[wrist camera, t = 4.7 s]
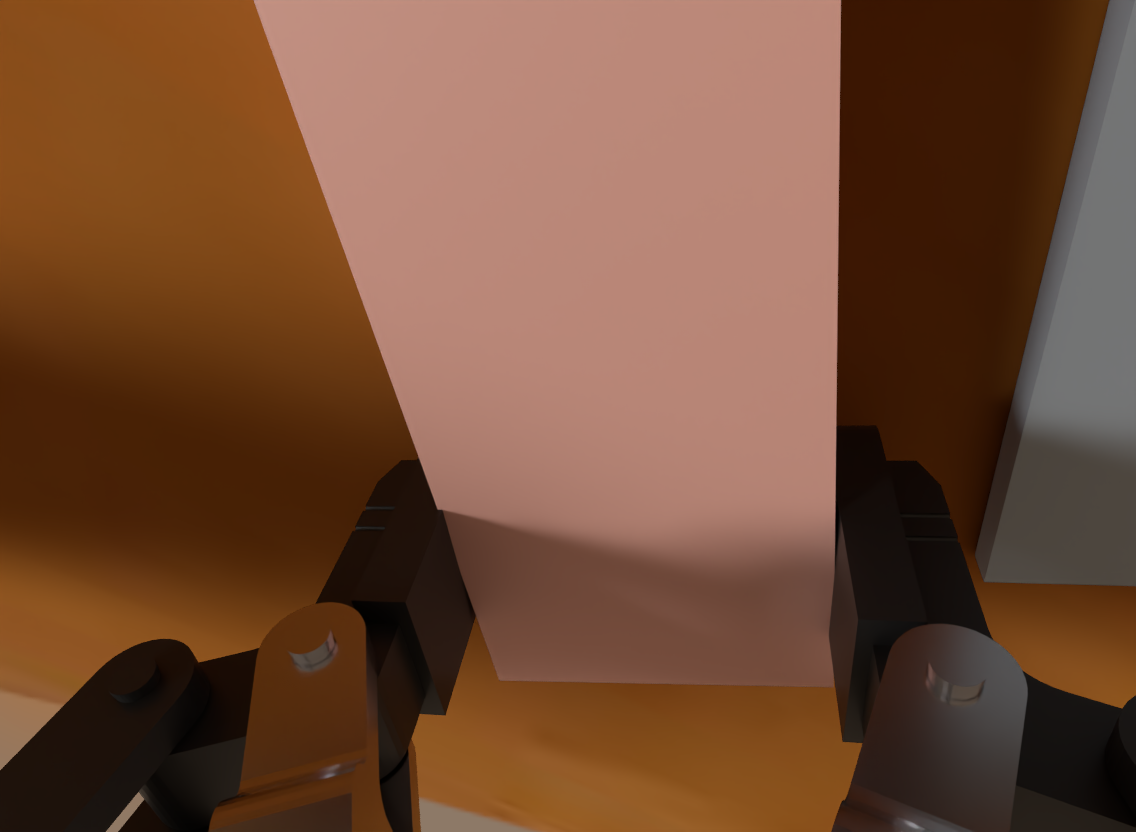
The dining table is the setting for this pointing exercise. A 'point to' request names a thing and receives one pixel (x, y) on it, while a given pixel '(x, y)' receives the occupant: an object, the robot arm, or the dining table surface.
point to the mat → (1079, 362)
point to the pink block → (601, 310)
